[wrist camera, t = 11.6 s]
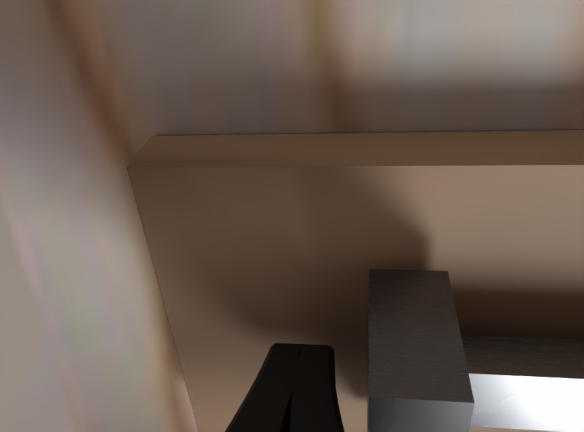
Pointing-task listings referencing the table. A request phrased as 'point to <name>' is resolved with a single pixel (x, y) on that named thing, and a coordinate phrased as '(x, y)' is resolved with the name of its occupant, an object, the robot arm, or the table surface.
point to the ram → (460, 366)
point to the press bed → (354, 244)
